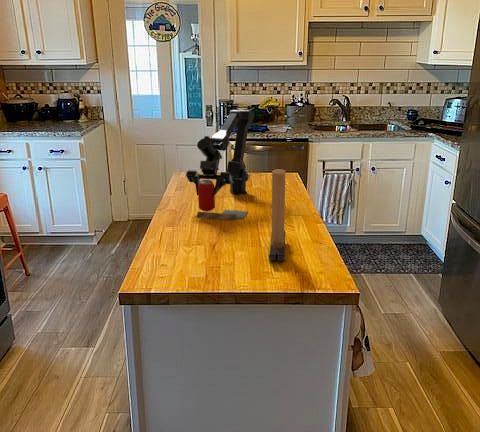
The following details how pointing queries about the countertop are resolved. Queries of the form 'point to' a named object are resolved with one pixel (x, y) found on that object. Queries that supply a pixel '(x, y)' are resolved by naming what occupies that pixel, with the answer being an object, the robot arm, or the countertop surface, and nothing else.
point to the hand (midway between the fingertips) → (205, 195)
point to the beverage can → (206, 195)
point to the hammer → (278, 216)
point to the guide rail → (216, 215)
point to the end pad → (238, 213)
